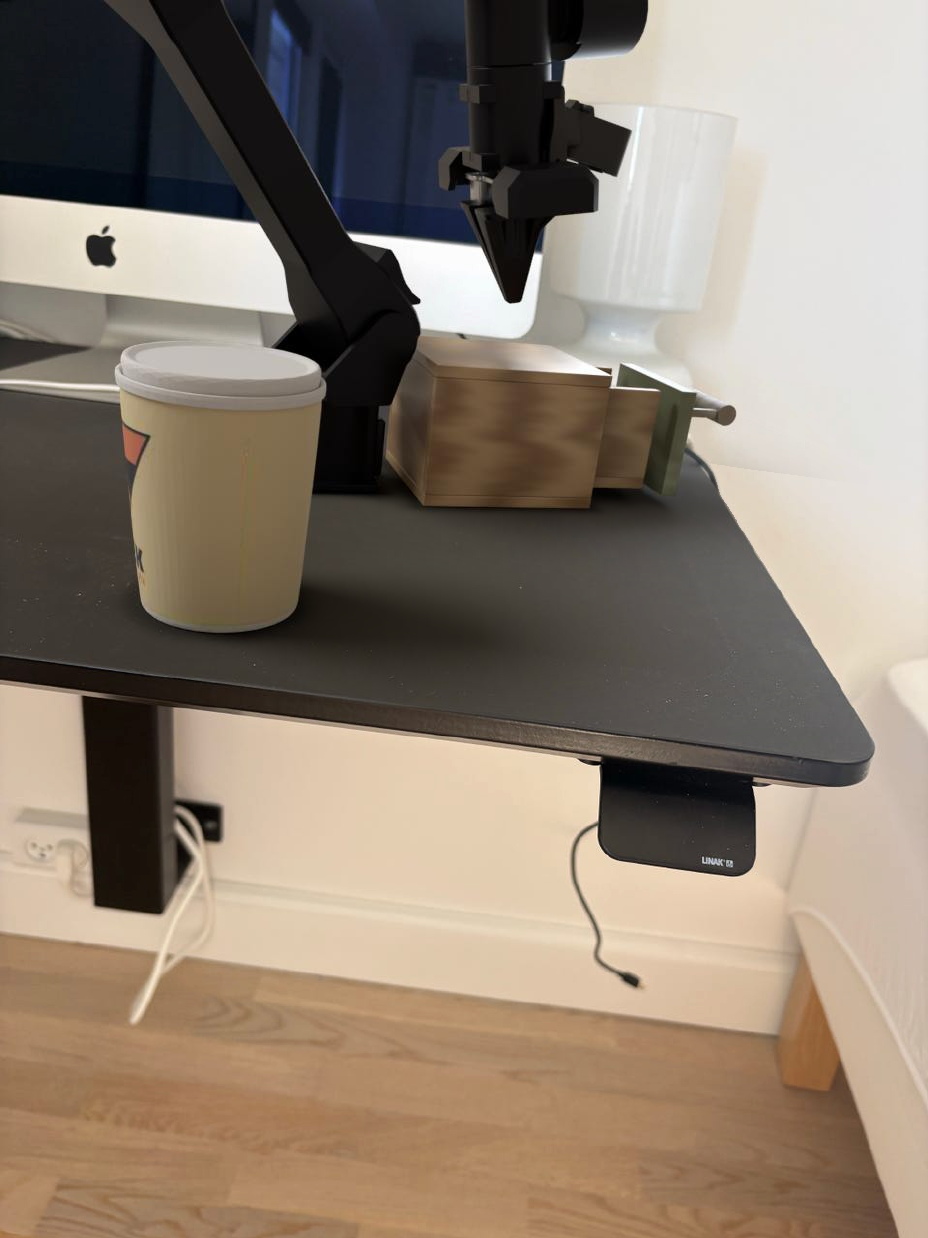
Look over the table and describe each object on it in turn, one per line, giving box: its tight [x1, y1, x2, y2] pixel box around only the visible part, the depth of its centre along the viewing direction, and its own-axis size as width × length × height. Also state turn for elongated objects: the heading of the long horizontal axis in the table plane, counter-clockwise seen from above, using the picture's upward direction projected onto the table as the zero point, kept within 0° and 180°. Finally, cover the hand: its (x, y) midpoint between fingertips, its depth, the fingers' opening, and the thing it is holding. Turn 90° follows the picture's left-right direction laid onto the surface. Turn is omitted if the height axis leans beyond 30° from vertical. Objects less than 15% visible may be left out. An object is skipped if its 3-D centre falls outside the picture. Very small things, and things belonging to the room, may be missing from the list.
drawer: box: [590, 362, 737, 497], centre depth 75 cm, size 16×10×8 cm, turn 107°
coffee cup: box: [114, 340, 326, 634], centre depth 46 cm, size 9×9×12 cm
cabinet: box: [385, 335, 613, 509], centre depth 71 cm, size 13×12×10 cm
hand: (513, 302), depth 73 cm, fingers closed
